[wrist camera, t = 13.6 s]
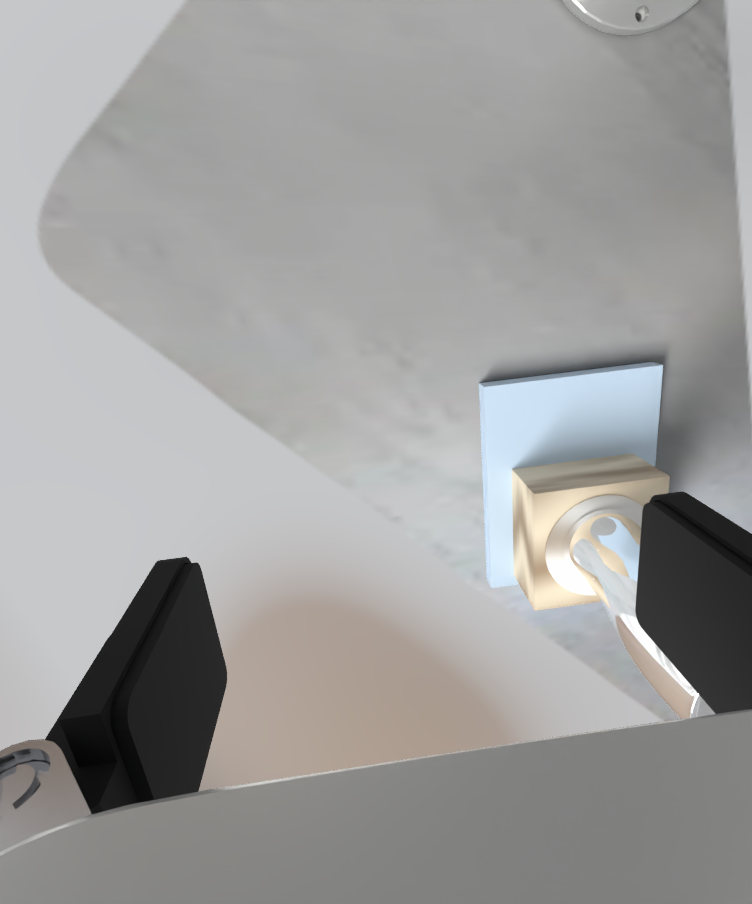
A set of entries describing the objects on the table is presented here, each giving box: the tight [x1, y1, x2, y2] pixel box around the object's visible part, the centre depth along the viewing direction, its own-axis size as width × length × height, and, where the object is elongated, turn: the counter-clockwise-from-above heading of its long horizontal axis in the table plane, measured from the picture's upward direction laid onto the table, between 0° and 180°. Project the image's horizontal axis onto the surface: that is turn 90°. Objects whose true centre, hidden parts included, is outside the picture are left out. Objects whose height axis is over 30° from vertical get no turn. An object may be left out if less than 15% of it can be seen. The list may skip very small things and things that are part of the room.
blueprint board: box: [479, 362, 663, 588], centre depth 43 cm, size 18×14×2 cm
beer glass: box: [563, 508, 715, 719], centre depth 31 cm, size 7×7×15 cm
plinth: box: [512, 453, 670, 611], centre depth 41 cm, size 10×10×5 cm
